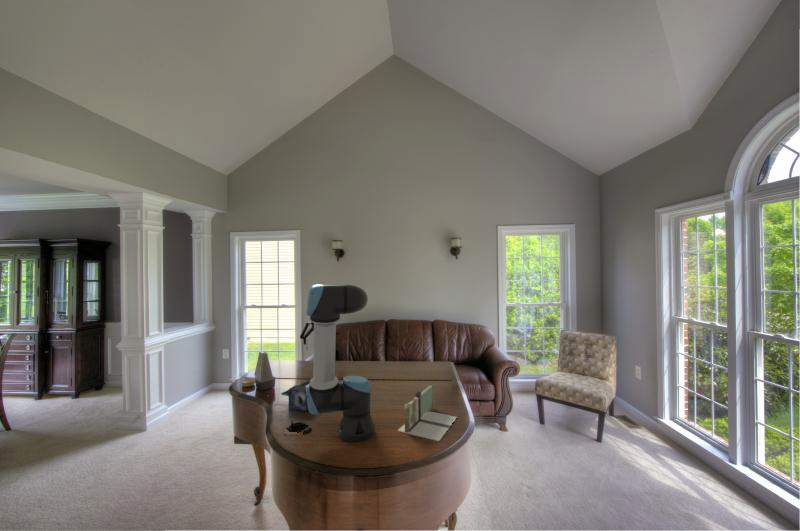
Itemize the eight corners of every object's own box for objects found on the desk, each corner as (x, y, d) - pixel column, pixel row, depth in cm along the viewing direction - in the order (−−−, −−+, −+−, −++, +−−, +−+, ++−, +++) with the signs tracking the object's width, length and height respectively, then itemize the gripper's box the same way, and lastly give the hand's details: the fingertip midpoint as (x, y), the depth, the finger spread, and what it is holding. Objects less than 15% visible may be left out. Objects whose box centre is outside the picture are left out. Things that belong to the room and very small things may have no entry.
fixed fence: (408, 433, 138) (408, 401, 138) (403, 432, 139) (403, 400, 140) (422, 420, 151) (421, 390, 151) (416, 419, 152) (416, 389, 152)
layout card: (439, 441, 132) (439, 440, 132) (397, 431, 140) (397, 430, 140) (457, 417, 153) (457, 416, 153) (420, 410, 162) (420, 409, 162)
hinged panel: (421, 417, 151) (421, 395, 151) (417, 416, 152) (417, 395, 152) (433, 405, 164) (433, 385, 165) (429, 404, 165) (429, 385, 166)
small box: (287, 410, 163) (287, 389, 163) (295, 405, 169) (295, 384, 170) (306, 412, 160) (306, 391, 160) (313, 407, 166) (313, 386, 167)
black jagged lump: (283, 440, 135) (283, 428, 135) (279, 430, 143) (279, 419, 143) (312, 433, 141) (312, 421, 141) (307, 424, 149) (307, 413, 149)
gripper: (341, 308, 184) (341, 342, 189) (294, 311, 176) (296, 347, 182) (342, 313, 177) (342, 348, 182) (294, 317, 169) (296, 353, 175)
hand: (319, 348), depth 182 cm, fingers open, 13 cm apart
